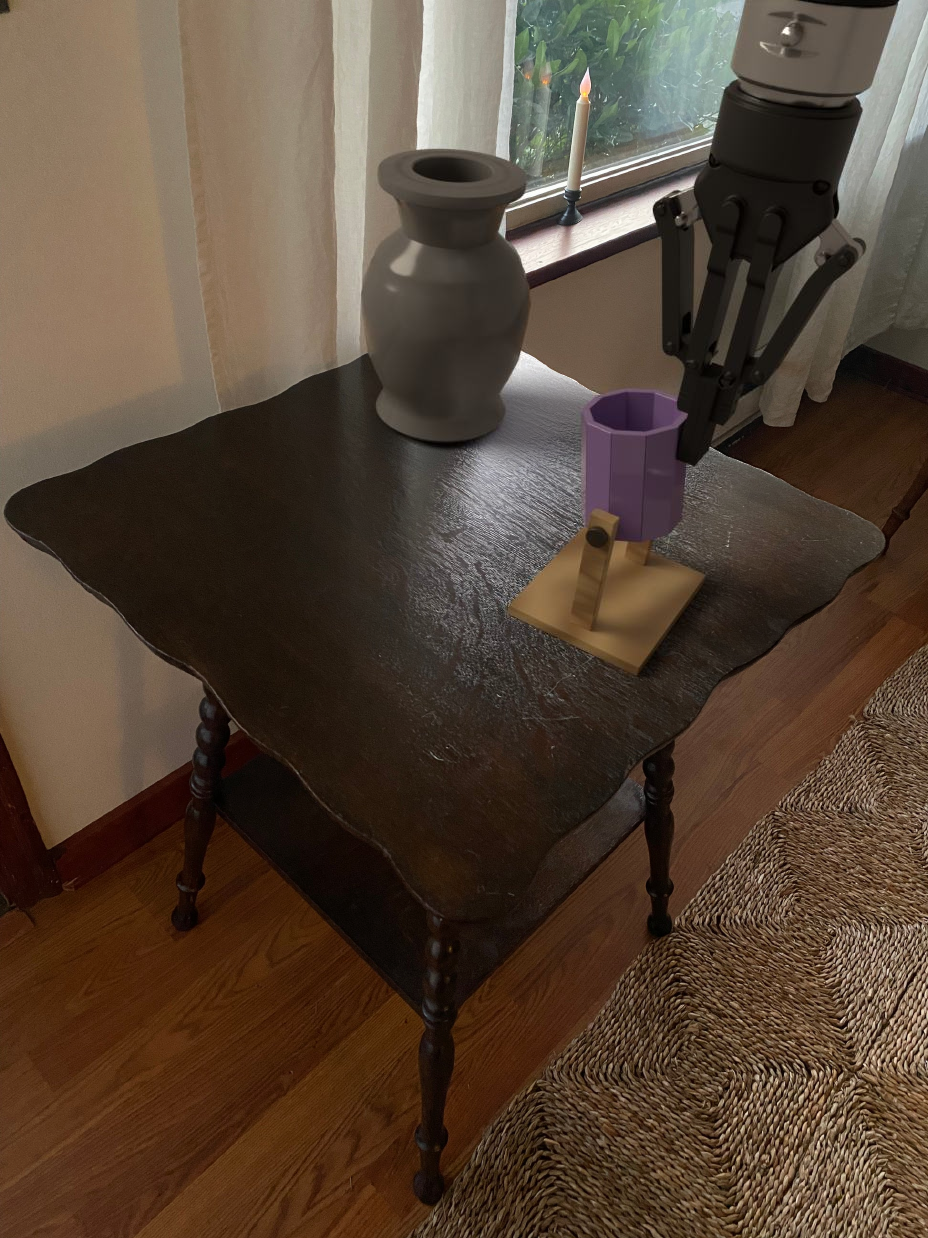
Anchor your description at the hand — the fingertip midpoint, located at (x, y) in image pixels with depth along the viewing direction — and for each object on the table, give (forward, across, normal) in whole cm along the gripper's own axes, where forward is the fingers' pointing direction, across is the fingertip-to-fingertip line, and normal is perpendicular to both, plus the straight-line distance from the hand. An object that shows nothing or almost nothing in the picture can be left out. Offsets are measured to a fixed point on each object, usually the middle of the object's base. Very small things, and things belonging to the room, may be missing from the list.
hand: (692, 454), depth 65 cm
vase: (+16, -32, +16) cm, 39 cm away
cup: (+7, -3, 0) cm, 8 cm away
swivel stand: (+16, -4, 0) cm, 17 cm away
